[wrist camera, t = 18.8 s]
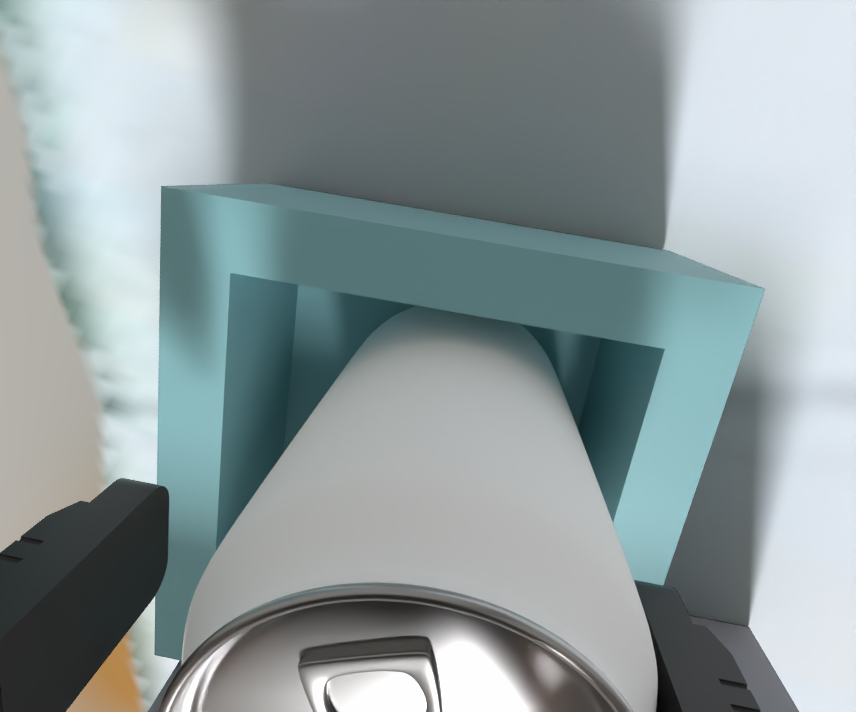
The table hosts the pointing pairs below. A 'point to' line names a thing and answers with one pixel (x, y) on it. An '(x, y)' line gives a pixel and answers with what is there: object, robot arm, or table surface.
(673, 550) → the socket block
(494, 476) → the can
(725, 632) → the wall board
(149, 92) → the table surface
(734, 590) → the table surface
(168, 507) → the robot arm
